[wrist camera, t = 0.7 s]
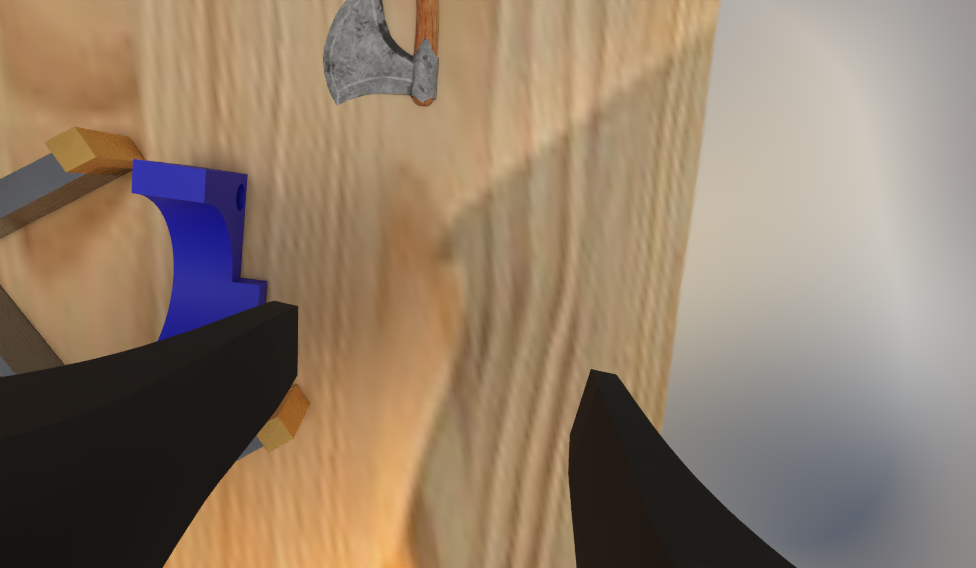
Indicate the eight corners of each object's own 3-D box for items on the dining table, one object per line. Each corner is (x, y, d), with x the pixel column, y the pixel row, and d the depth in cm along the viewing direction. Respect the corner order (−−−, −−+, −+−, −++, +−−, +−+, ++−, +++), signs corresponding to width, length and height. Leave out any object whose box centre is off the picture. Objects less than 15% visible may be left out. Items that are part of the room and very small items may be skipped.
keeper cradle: (139, 498, 30) (93, 549, 26) (-73, 241, 26) (-169, 250, 22) (309, 403, 31) (293, 438, 27) (129, 137, 27) (74, 126, 22)
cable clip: (259, 376, 30) (224, 419, 25) (180, 369, 30) (123, 412, 24) (275, 178, 29) (241, 175, 23) (191, 166, 28) (132, 159, 22)
